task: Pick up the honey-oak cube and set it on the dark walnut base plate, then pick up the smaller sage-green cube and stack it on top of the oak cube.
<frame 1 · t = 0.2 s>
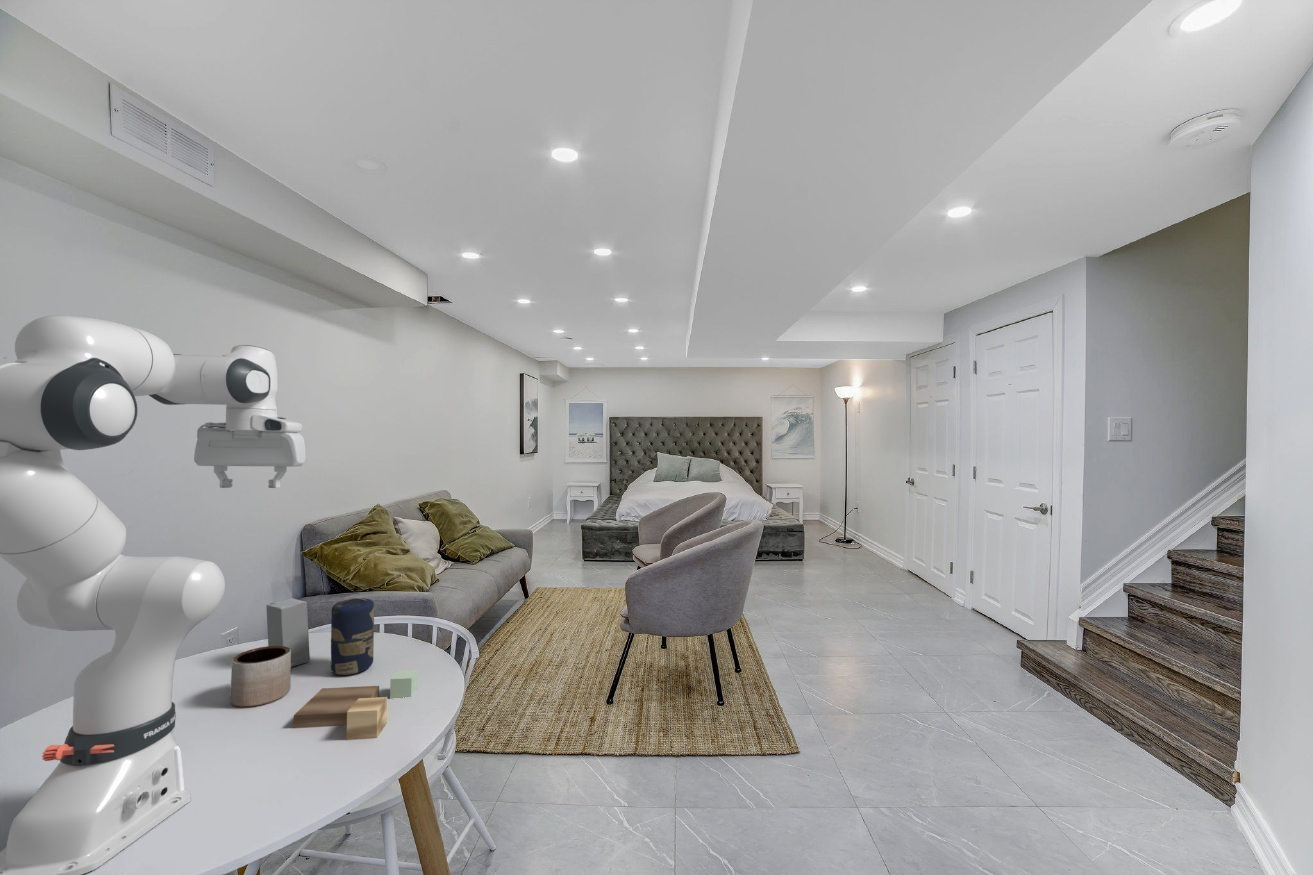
hand: (250, 487, 115), 47 cm above the table, tool pointing down, fingers open, 8 cm apart
oak cube: (367, 731, 107), on the table
canister: (352, 670, 135), on the table
base plate: (338, 711, 114), on the table
planter: (261, 697, 121), on the table
green cube: (403, 694, 123), on the table
skincare box: (287, 663, 139), on the table
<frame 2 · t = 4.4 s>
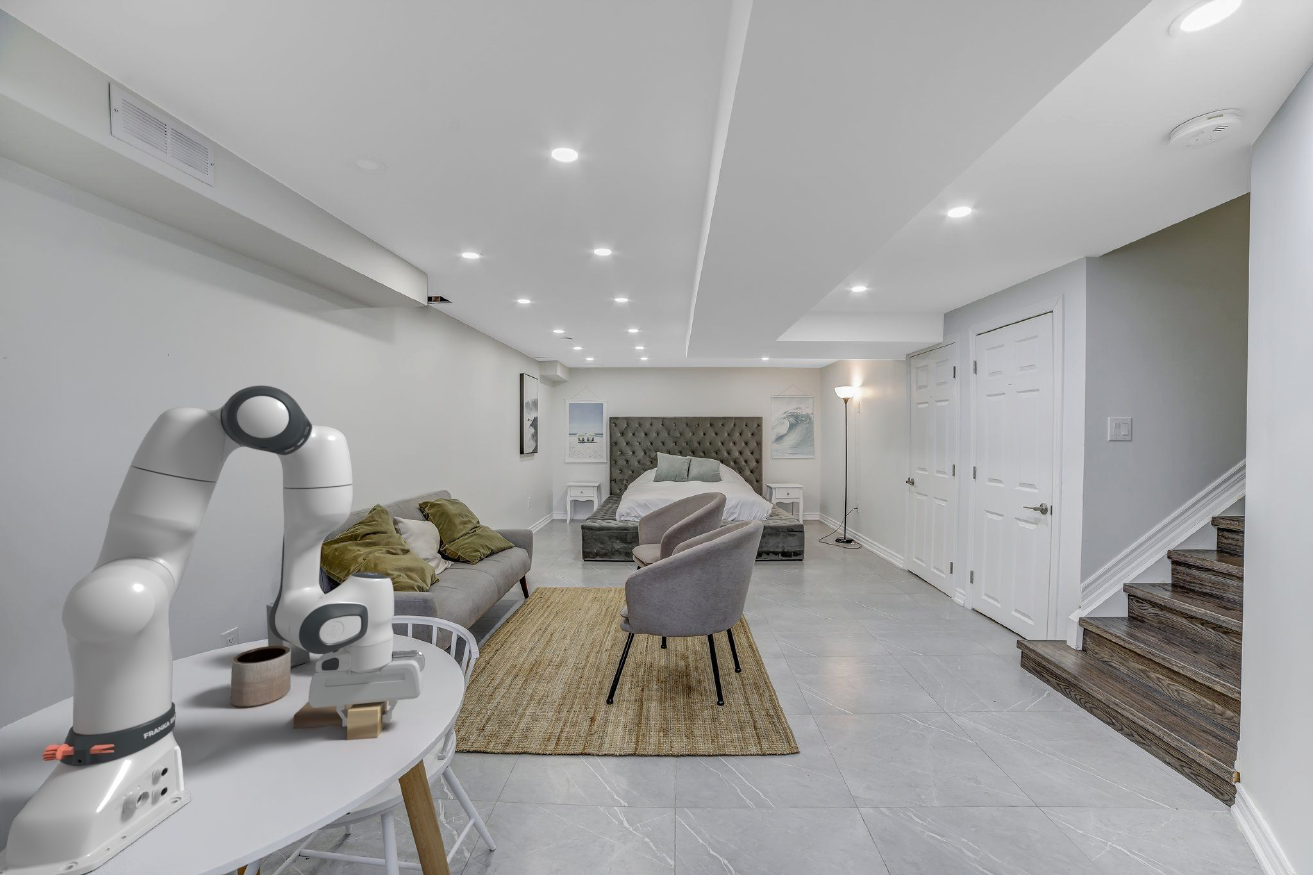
hand: (367, 723, 107), 2 cm above the table, tool pointing down, fingers closed on oak cube, 6 cm apart
oak cube: (367, 731, 107), on the table, touching gripper
everything else where it was.
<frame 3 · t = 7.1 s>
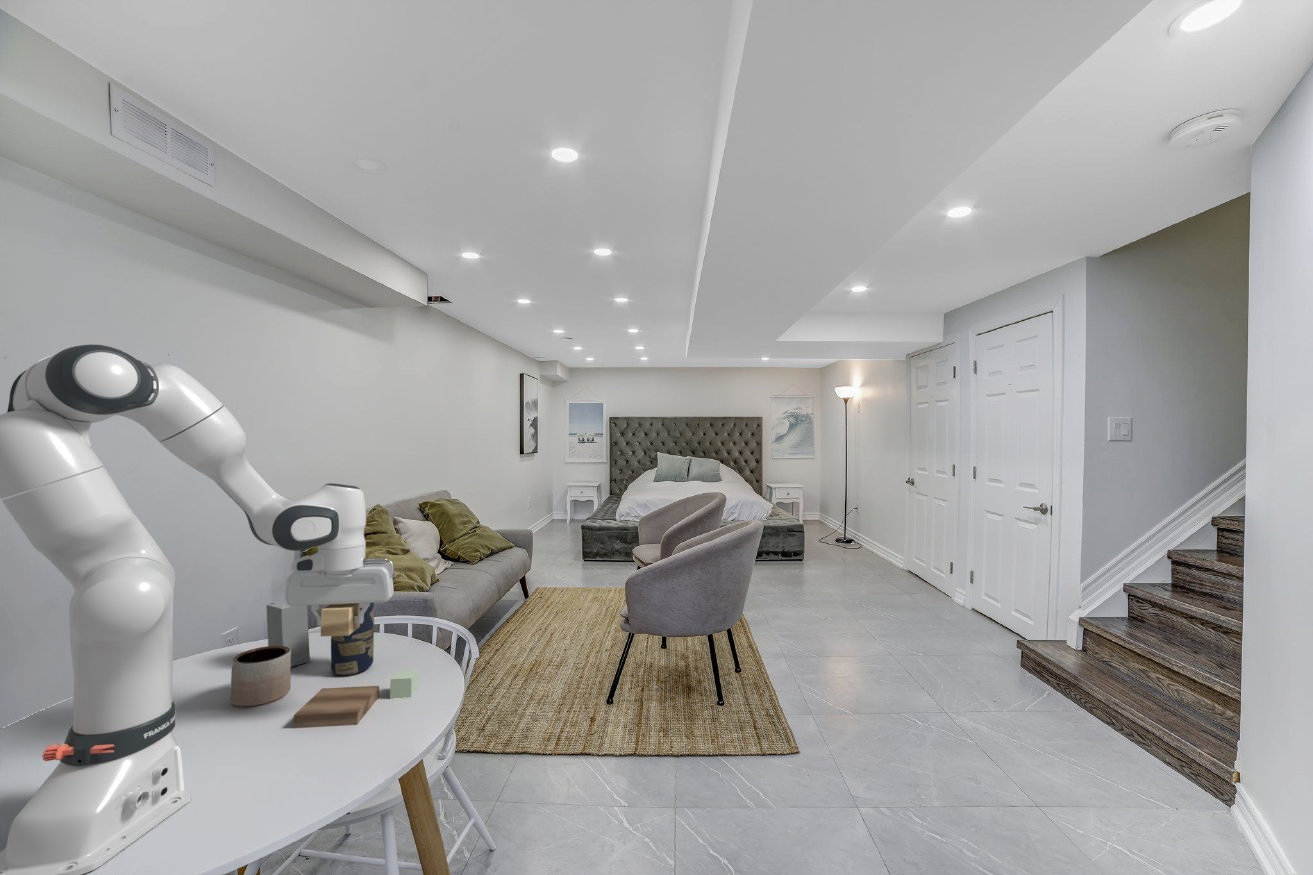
hand: (340, 623, 115), 19 cm above the table, tool pointing down, fingers closed on oak cube, 6 cm apart
oak cube: (340, 631, 115), point 17 cm above the table, touching gripper
everything else where it was.
when the fingers open (5 cm above the table, at t = 10.0 s): oak cube stays where it is, resting on base plate.
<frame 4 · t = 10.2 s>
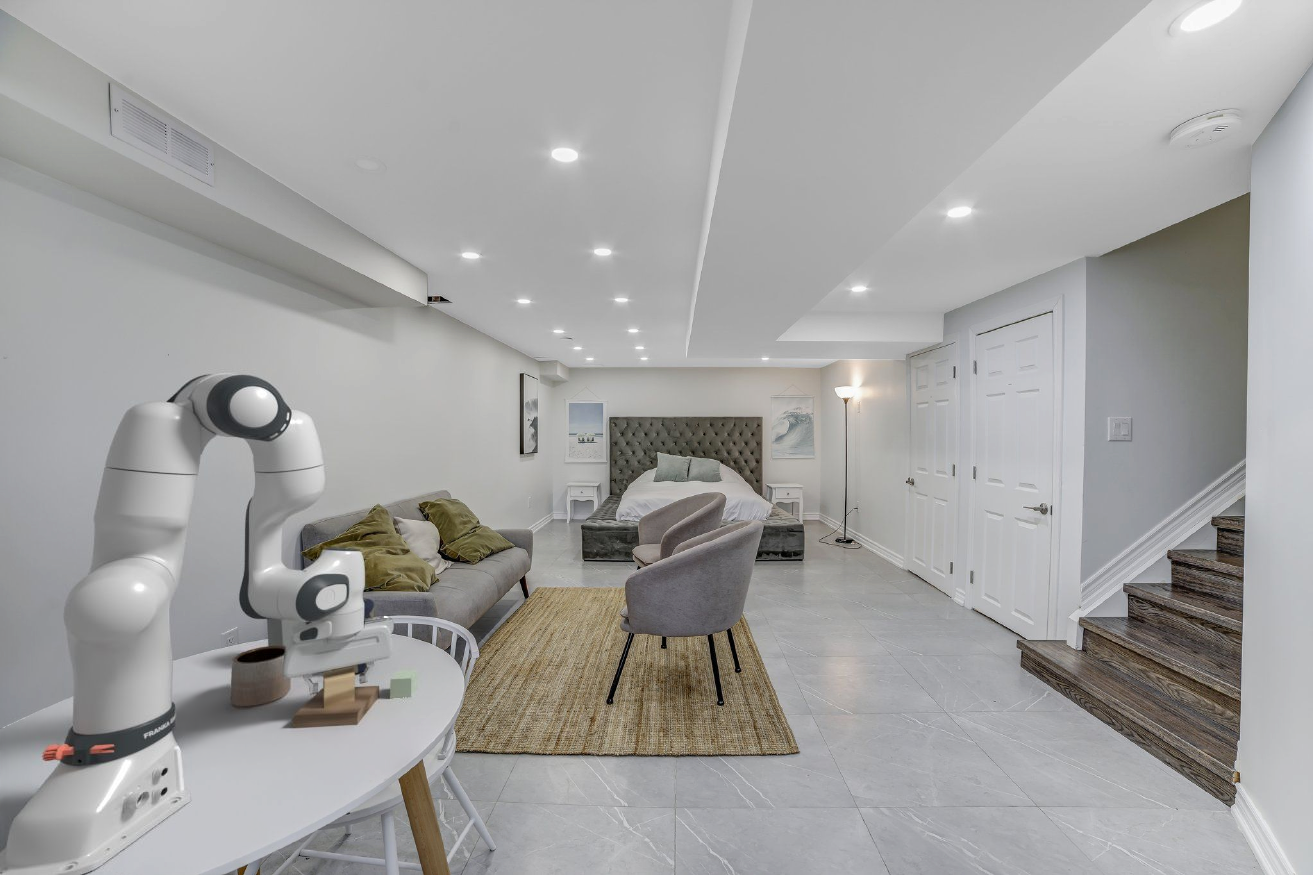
hand: (339, 687, 115), 5 cm above the table, tool pointing down, fingers open, 8 cm apart
oak cube: (338, 699, 115), point 2 cm above the table, touching base plate
everything else where it was.
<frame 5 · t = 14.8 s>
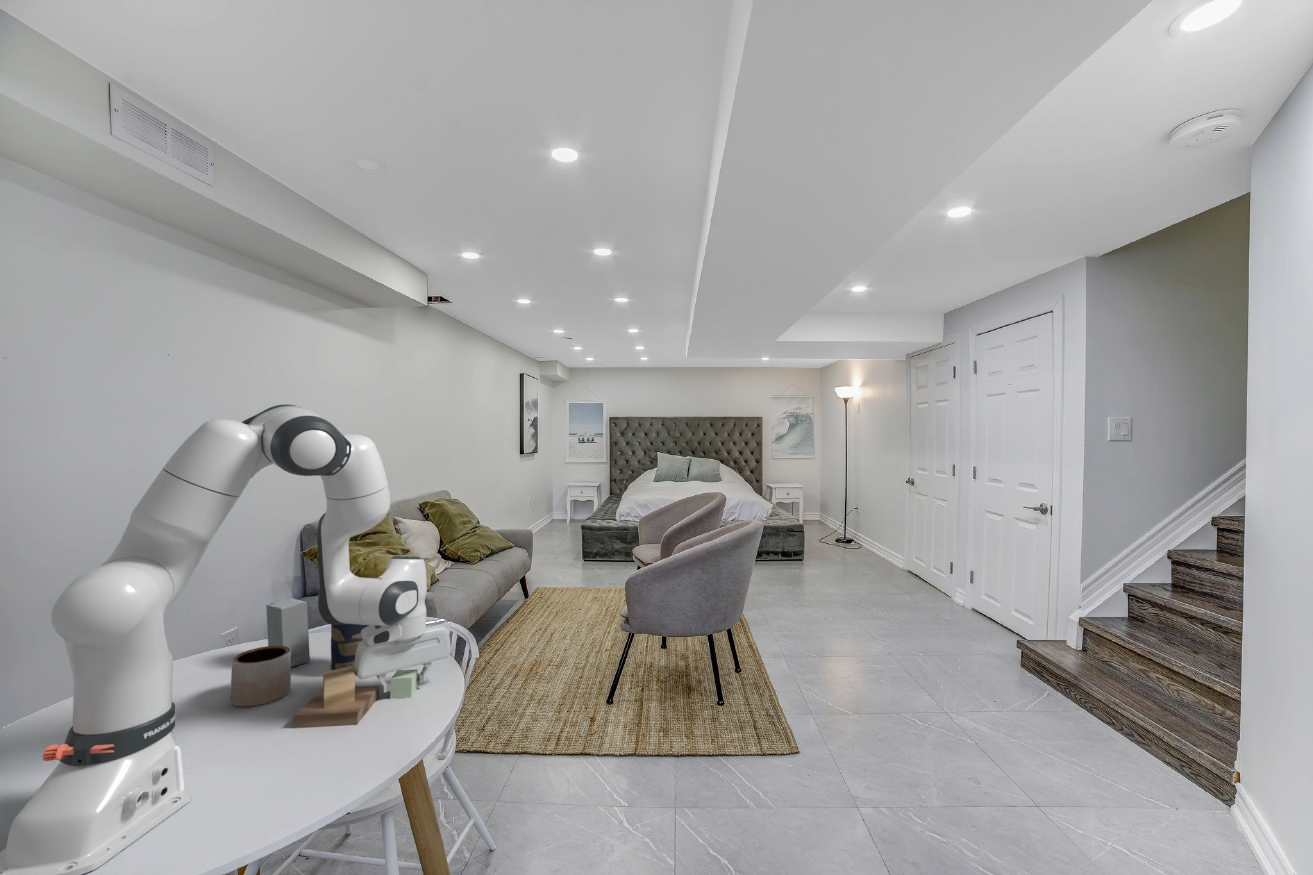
hand: (404, 686, 123), 2 cm above the table, tool pointing down, fingers closed on green cube, 6 cm apart
green cube: (404, 693, 123), on the table, touching gripper
everything else where it was.
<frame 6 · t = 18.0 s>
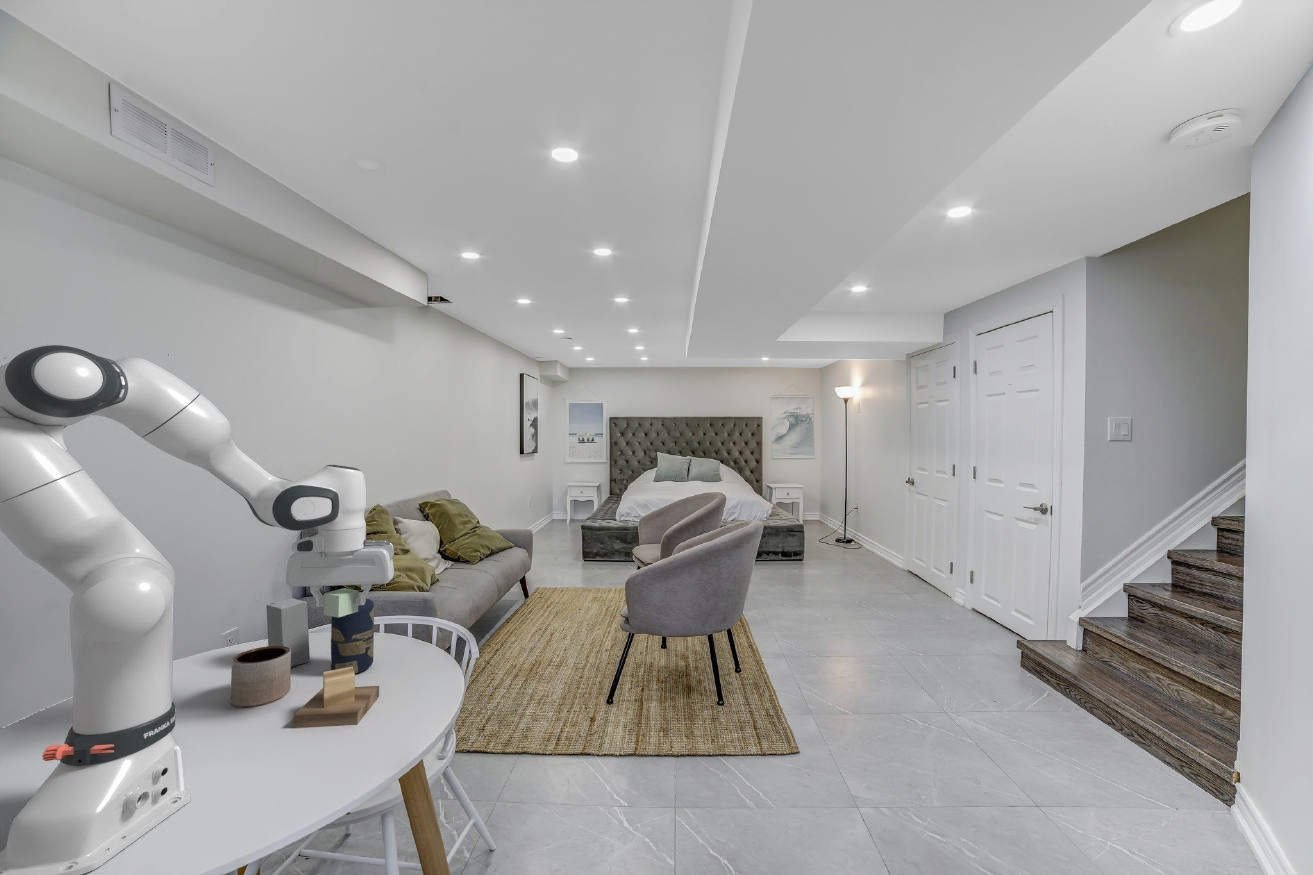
hand: (341, 605, 115), 23 cm above the table, tool pointing down, fingers closed on green cube, 6 cm apart
green cube: (341, 612, 115), point 21 cm above the table, touching gripper
everything else where it was.
when the fingers open (10 cm above the table, at t = 21.2 s): green cube stays where it is, resting on oak cube.
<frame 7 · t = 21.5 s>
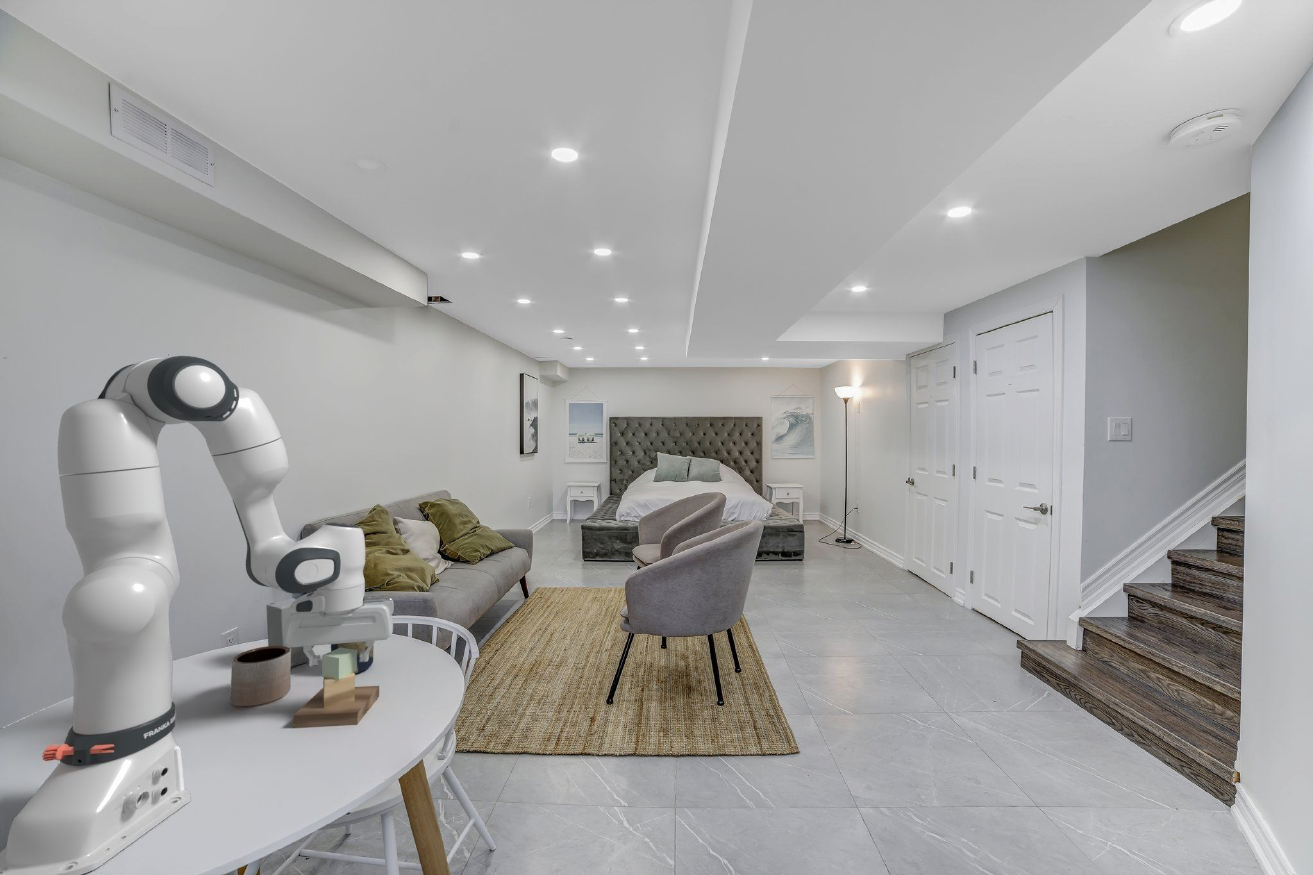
hand: (339, 663, 115), 10 cm above the table, tool pointing down, fingers open, 8 cm apart
oak cube: (338, 699, 115), point 2 cm above the table, touching base plate, green cube
green cube: (339, 673, 115), point 8 cm above the table, touching oak cube
everything else where it was.
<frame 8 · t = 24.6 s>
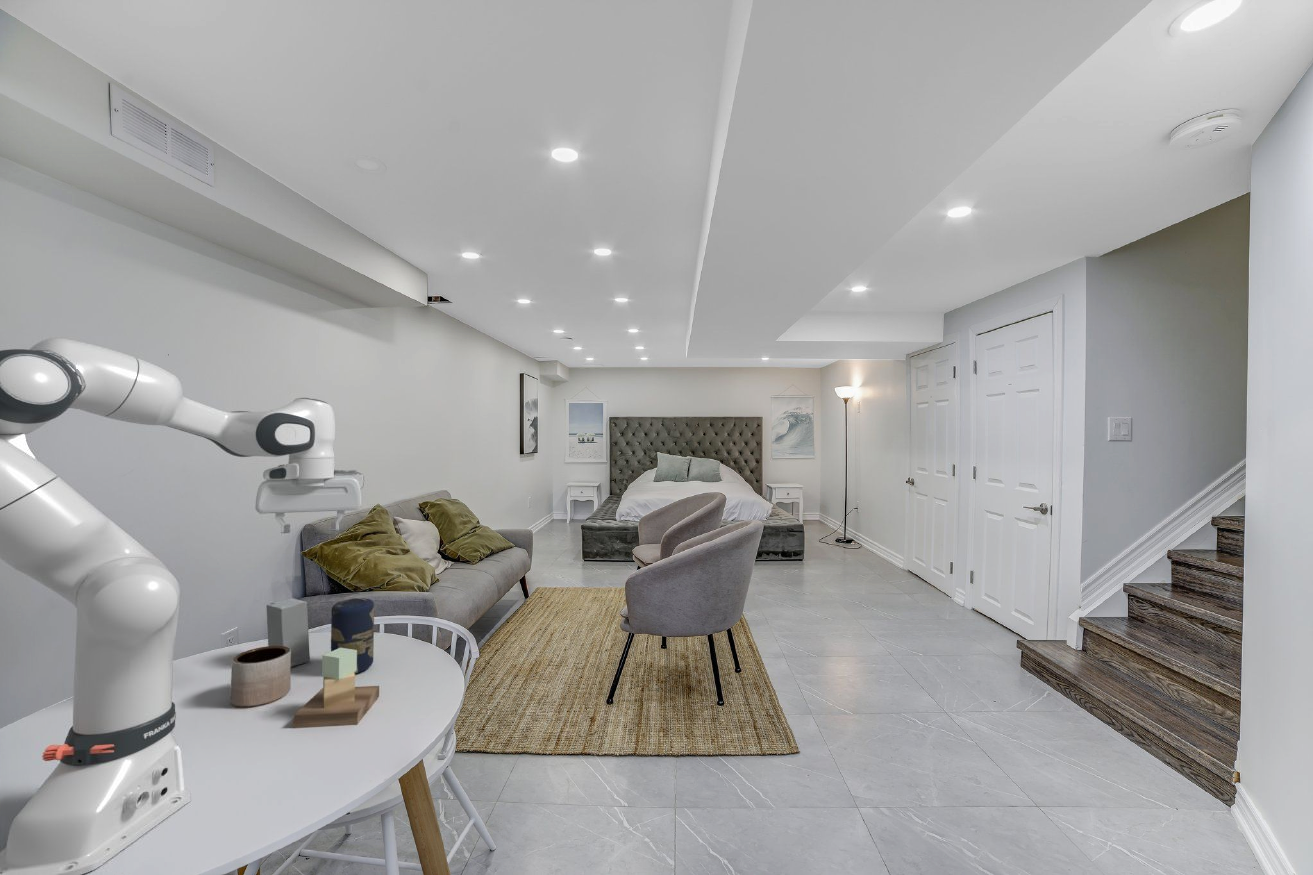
hand: (310, 531, 121), 37 cm above the table, tool pointing down, fingers open, 8 cm apart
nothing on the table moved.
at the end: oak cube inside the target area on the base plate (0.1 cm from its centre), point 2.5 cm above the base plate's base; green cube 0.0 cm off-centre on the oak cube, point 5.5 cm above the oak cube's base; green cube tilted 0° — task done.
